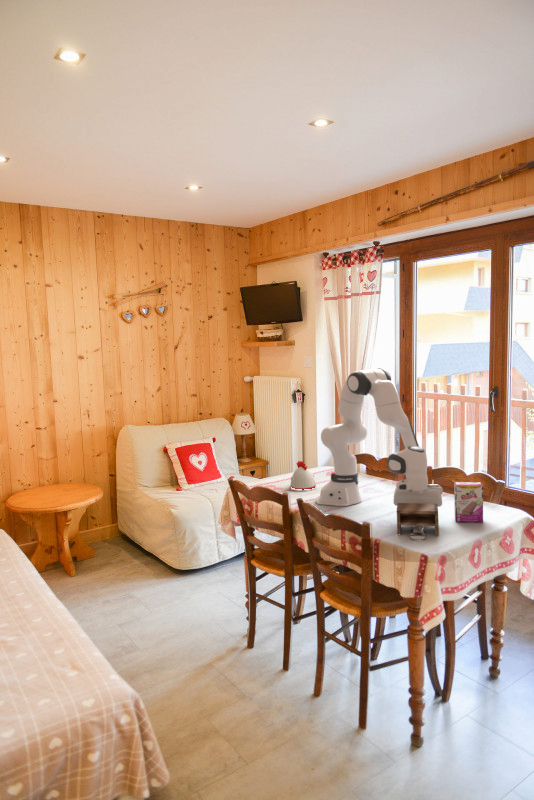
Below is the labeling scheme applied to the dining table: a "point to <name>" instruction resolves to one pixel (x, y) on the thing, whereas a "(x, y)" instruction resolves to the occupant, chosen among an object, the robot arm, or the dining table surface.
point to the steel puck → (418, 536)
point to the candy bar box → (468, 501)
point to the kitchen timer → (302, 478)
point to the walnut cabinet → (417, 515)
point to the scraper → (418, 529)
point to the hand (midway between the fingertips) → (418, 515)
